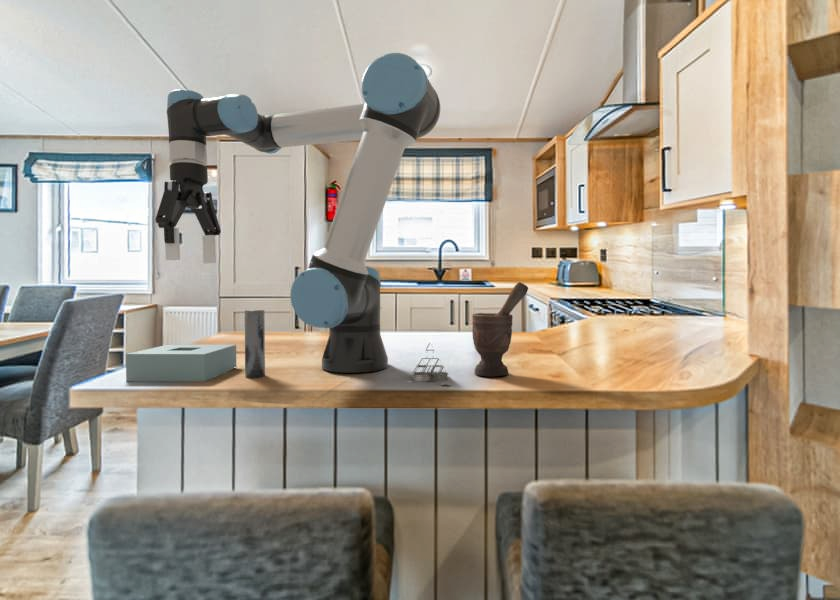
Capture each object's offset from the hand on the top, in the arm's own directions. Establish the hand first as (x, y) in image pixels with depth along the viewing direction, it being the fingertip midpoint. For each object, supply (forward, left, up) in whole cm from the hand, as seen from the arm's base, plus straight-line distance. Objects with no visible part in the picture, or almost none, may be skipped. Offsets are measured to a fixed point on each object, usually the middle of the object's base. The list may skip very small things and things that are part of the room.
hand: (192, 261), depth 108 cm
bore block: (0, +2, -25) cm, 25 cm away
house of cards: (-52, -5, -25) cm, 58 cm away
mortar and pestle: (-66, -15, -25) cm, 72 cm away
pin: (-16, 0, -25) cm, 29 cm away
